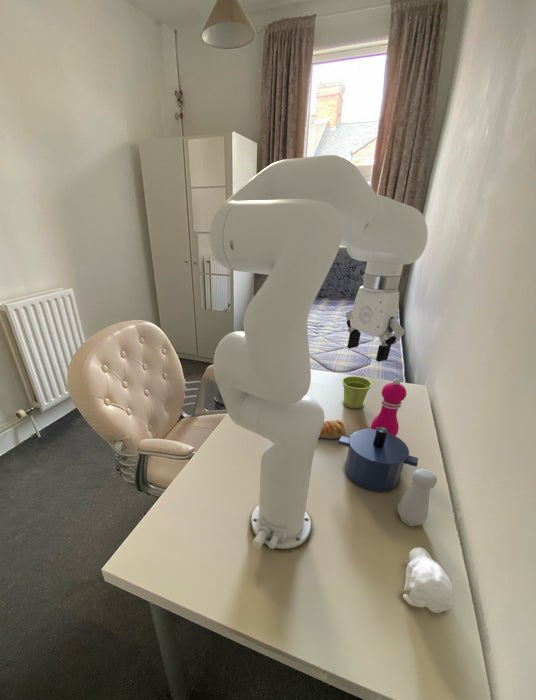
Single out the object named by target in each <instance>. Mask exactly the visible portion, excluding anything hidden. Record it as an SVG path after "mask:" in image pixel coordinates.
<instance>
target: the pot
mask: <svg viewBox="0 0 536 700" xmlns="http://www.w3.org/2000/svg"><path fill="white" fill-rule="evenodd" d="M349 438H350V437H347V436H344V437H343V436H341V438H339V440H338V445H341V446H344V447H348V452H347V457H346V461H345V472H346V476H347V477H348V478H349V480H351V481H352V482H353V483H354V484H356V485H357V486H358V487H361V488H363V489H365V490H369V491H373V492H387V491H390V490H392V489H394V488H395V487H396V486H397V485H398V483H399V480H400V477H401V474H402V470H403V467H404V464H406V465H409V466H412V467H415V468H417V467H418V463H419V457H416V456H414V455H410V454H409V455H408V458H407V459H406V460H405V461H404V462H402V463H400V464H396V465H381V464H376V463H372V462H370V461H367V460H365V459H363V458H361V457H360V456H358V455H357V454H356V453H354V452H353V450H352V449H351V448H350V445H349Z"/></svg>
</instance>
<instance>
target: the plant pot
mask: <svg viewBox="0 0 536 700" xmlns="http://www.w3.org/2000/svg"><path fill="white" fill-rule="evenodd" d="M341 382H342V386H343V405H345V407H347V408H350V409H361V408H362V407H363V404H364V402H365V399H366V397H367V394H368V391H369V390H370V388H372V387H373V383H372V381H370V380H369V379H367V378H365V377H361V376H357V375H356V376H355V375H350V376H345V377H343V378H342V381H341Z"/></svg>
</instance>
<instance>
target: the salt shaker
mask: <svg viewBox="0 0 536 700" xmlns="http://www.w3.org/2000/svg"><path fill="white" fill-rule="evenodd" d="M411 481H412V482H411V484H410V485H409V487H408V489H407V490H406V492H405V494H404V495H403V497H402V498H401V499H400V501H399V502H398V504H397V513H398V515H399V518H400V521H401V522H402V523H404V524H406V525H407V526H408V527H416V526H417V527H418V526H420V525H422V524H423V523H425V522H426V521H427V519H428V517H429V506H430V493H431V489H434V488H435V486H436V484H437V482H438V477H437V475H436V474H435V473H434V472H433V471H431V470H429V469H427V468H417V469H415V470H414V471H413V473H412V475H411Z"/></svg>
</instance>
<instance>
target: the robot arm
mask: <svg viewBox="0 0 536 700" xmlns="http://www.w3.org/2000/svg"><path fill="white" fill-rule="evenodd" d="M428 235H429V232H428V225H427V222H426V219H425V217H424V215H423V213H422V211H420V210H419V209H418V208H416V207H414V206H412V205H409V204H406V203H403V202H400V201H397V200H395V199H392V198H391V197H387V196H385V195H381V194H378V193H376V192H375V190H374V189H373V187H372V186H371V185H370V183H369V182H368V180H367V179H366V178H365V177H364V175H363V174H362V173H361V171H360V170H359V168H358V167H357V165H356V164H355V163H354V162H353V161H352V160H350V159H348V158H347V157H344V156H341V155H335V154H325V155H315V156H305V157H297V158H296V157H295V158H285V159H281V160H277V161H275V162H273V163H271V164H269V165H268V166H266V167H265V168H263V169H262V170H261V171H259V172H258V173H257V174H256V175H254V176H253V177H252V178H250V179H249V180H248V181H246V183H245V184H243V185H242V186H241V187H240V188H239V189H238V190H236V191H235V192H234V193H232V195H231V196H229V197H228V198H227V199H226V200H225V201H224V202H223V203H222V204H221V205H220V206H219V207H218V209H217V210H216V212H215V214H214V215H213V217H212V220H211V222H210V228H209V237H208V238H209V239H208V241H209V247H210V250H211V253H212V255H213V258H214V259H215V260H216V261H217V263H219V264H220V265H221V266H222V267H224V268H226V269H228V270H231V271H235V272H243V273H251V274H261V275H268V276H267V277H266V279H265V280H264V282H263V284H262V285H261V286H260V287H259V289H258V290H257V292H256V294H255V295H254V296H253V297H252V298H251V300H250V301H249V303H248V305H247V307H246V308H245V311H244V315H243V318H242V319H243V320H242V325H243V330H236V331H232V332H229V333H227V334H226V335H224V336H223V338H221V340H220V341H219V342H218V344H217V346H216V349H215V351H214V355H213V362H212V368H213V377H214V379H215V384H216V385H217V388H218V391H219V394H220V396H221V399H222V402H223V405H224V406H225V409H226V412H227V414H228V416H229V418H230V419H231V421H232V422H233V423H234V424H235V425H237V426H239V427H241V428H242V429H245V430H248V431H250V432H252V433H254V434H256V435H259V436H261V437H263V438H264V439H266V440H269V441H270V442H271V444H269V445H268V446H267V447H265V450H264V451H263V453H262V455H261V457H260V458H261V459H260V472H259V473H260V476H259V501H258V505H256V506H255V507H254V509H253V511H252V514H251V517H250V518H251V519H250V523H251V525H250V526H251V528H252V532H253V533H254V535H255V537H254V539H253V540H252V542H251V544H252V546H253V548H255V549H256V550H260V549H262V547H263V546H264V544H265V545H267V547H268V548H269V549H271V550H274V549H279V550H286V549H293V548H297V547H298V546H301V545H302V544H303V543H304V542H306V540H308V538H309V535H310V533H311V528H312V522H311V518H310V516H309V514H308V512H307V503H308V494H309V488H310V481H311V473H312V465H313V462H314V461H313V460H314V456H315V451H316V447H317V444H318V441H319V439H320V437H319V436H320V433H321V430H322V427H323V424H324V422H325V411H324V409H323V407H322V405H321V404H320V403H319V402H318V401H317V400H315V398H313V397H310V396H308V395H307V394H308V392H309V390H310V386H311V382H312V370H311V356H310V355H311V354H310V344H309V343H310V342H309V331H308V328H309V327H308V320H309V315H310V311H311V309H312V306H313V304H314V302H315V300H316V298H317V296H318V294H319V292H320V290H321V288H322V286H323V285H324V282H325V280H326V278H327V276H328V274H329V272H330V270H331V268H332V266H333V264H334V261H335V260H336V258H337V255H338V252H339V250H340V247H345V248H346V252H347V254H348V256H349V257H350V258H351V259H353V260H355V261H359V262H366V265H365V272H364V274H363V275H362V280H363V282H362V285H361V286H359V288H358V290H357V294H356V295H355V299H354V302H353V306H352V310H350V311H347V312H346V313H345V318H346V326H347V328H348V329H347V332H348V333H349V335H348V341H347V348H348V349H354V348H358V347H359V344H360V341H361V340H360V339H361V332H362V333H365V334H367V335H370V336H373V337H379V338H378V339H379V341H380V344H379V345H378V348H377V352H376V357H375V360H376V362H378V363H379V362H383V361H387V360H388V358H389V355H390V351H391V347H392V346H393V345H395V343H397V342H399V341H400V339H401V338H402V337H403V335H404V334H405V333H406V332H405V331H406V330H405V329H404V328H403V327H402V325H401V324H400V323H399V322H398V320H397V318H398V311H399V305H400V304H399V303H400V290H399V285H400V281H401V277H402V273H403V268H404V265H411V264H413V263H415V262H417V261H418V260H419V259H420V258H421V256H422V255H423V253H424V252H425V249H426V246H427V242H428Z"/></svg>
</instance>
